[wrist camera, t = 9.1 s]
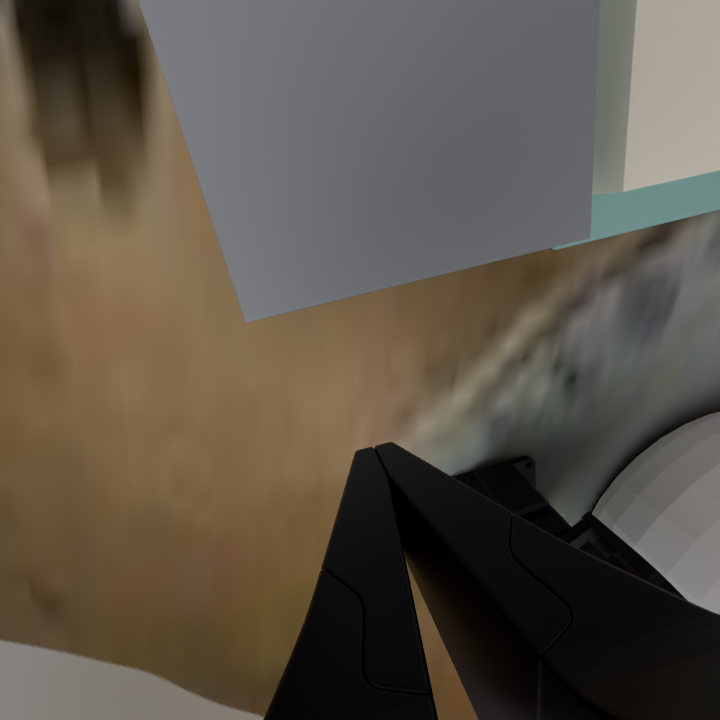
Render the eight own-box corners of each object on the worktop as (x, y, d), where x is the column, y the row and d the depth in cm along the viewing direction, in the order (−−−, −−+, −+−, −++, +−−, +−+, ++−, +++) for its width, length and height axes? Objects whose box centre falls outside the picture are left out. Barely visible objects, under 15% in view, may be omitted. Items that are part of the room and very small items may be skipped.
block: (623, 192, 18) (591, 194, 20) (725, 169, 19) (686, 173, 21) (640, -47, 15) (601, -18, 17) (763, -64, 16) (713, -35, 18)
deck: (535, 235, 21) (590, 238, 17) (252, 303, 19) (245, 322, 15) (530, -48, 16) (604, -126, 13) (158, 7, 14) (116, -67, 11)
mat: (770, 195, 23) (776, 195, 23) (551, 249, 21) (555, 249, 21) (836, -120, 18) (844, -125, 17) (551, -81, 16) (556, -86, 16)
